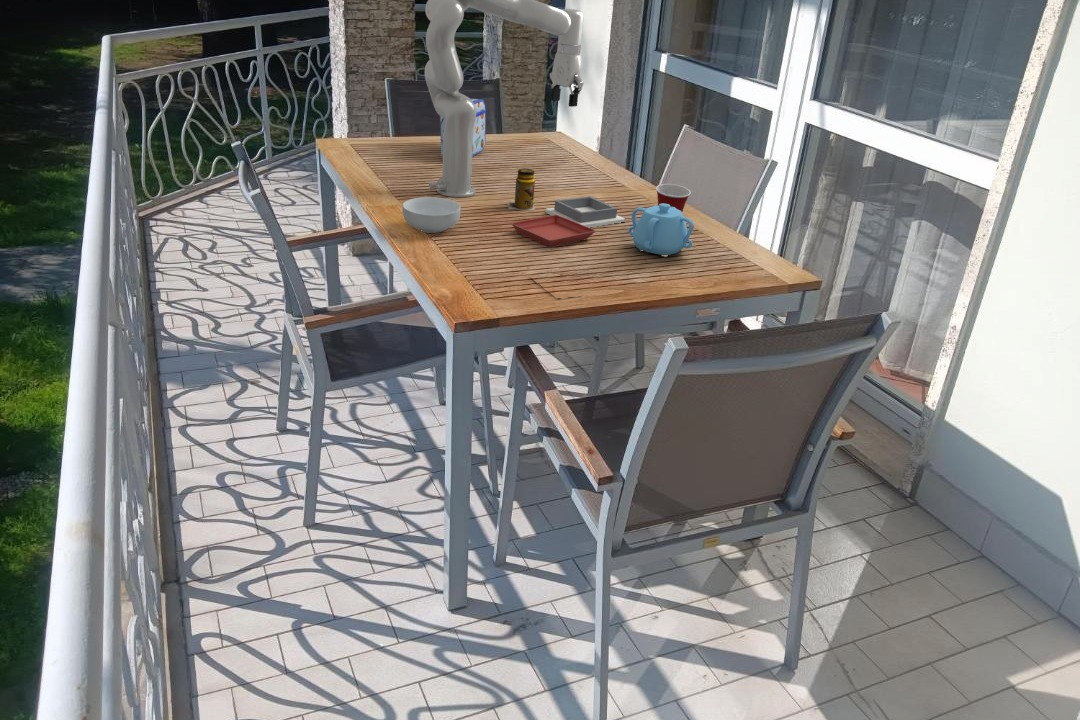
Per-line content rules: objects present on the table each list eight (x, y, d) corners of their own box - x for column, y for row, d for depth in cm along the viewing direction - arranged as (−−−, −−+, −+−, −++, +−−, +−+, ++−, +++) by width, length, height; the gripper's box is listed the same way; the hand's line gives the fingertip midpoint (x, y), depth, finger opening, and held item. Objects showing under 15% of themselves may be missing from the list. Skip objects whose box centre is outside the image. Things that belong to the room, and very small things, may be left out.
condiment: (535, 210, 275) (538, 173, 270) (509, 209, 274) (511, 172, 268) (532, 203, 281) (535, 167, 276) (506, 203, 280) (508, 166, 275)
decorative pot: (693, 260, 243) (701, 214, 237) (638, 259, 241) (645, 212, 235) (676, 241, 258) (683, 197, 252) (624, 240, 255) (630, 195, 249)
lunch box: (461, 166, 317) (463, 104, 307) (435, 162, 320) (436, 101, 310) (488, 151, 341) (490, 93, 331) (463, 147, 343) (465, 90, 333)
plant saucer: (509, 233, 254) (510, 222, 253) (555, 224, 265) (556, 213, 264) (549, 251, 242) (550, 240, 241) (595, 241, 253) (596, 230, 252)
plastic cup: (656, 231, 265) (661, 193, 259) (646, 220, 274) (651, 183, 269) (690, 232, 267) (696, 194, 261) (679, 221, 276) (684, 184, 271)
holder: (578, 229, 261) (580, 216, 259) (545, 212, 274) (546, 199, 272) (624, 222, 270) (626, 209, 268) (590, 206, 283) (591, 193, 281)
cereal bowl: (396, 220, 256) (396, 197, 252) (450, 218, 261) (451, 195, 258) (410, 239, 242) (410, 215, 238) (467, 236, 247) (468, 212, 244)
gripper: (544, 46, 286) (540, 98, 294) (575, 54, 274) (570, 109, 282) (562, 46, 291) (557, 98, 298) (594, 54, 278) (588, 108, 286)
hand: (564, 103), depth 290 cm, fingers open, 9 cm apart
